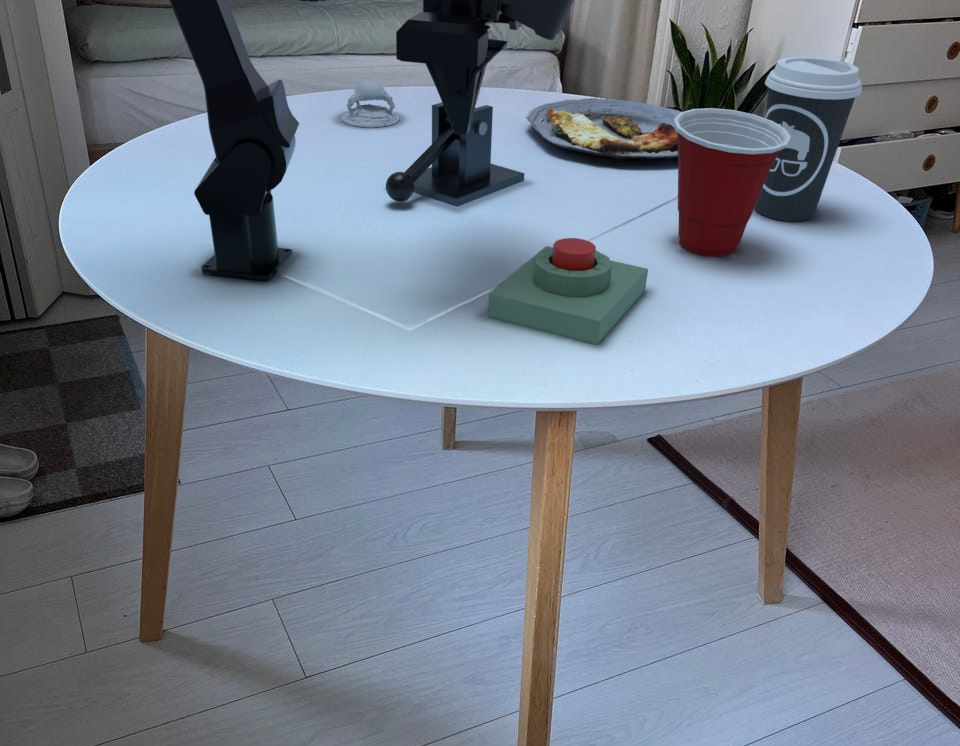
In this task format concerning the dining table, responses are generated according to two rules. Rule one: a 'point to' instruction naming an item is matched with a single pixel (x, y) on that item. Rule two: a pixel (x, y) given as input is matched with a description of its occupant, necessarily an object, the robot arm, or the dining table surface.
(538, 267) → the button block
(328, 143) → the dining table surface
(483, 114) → the lever bracket
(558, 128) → the food plate
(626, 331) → the dining table surface
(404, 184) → the control lever
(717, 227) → the plastic cup
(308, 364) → the dining table surface
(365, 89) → the miniature
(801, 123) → the coffee cup
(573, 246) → the button
